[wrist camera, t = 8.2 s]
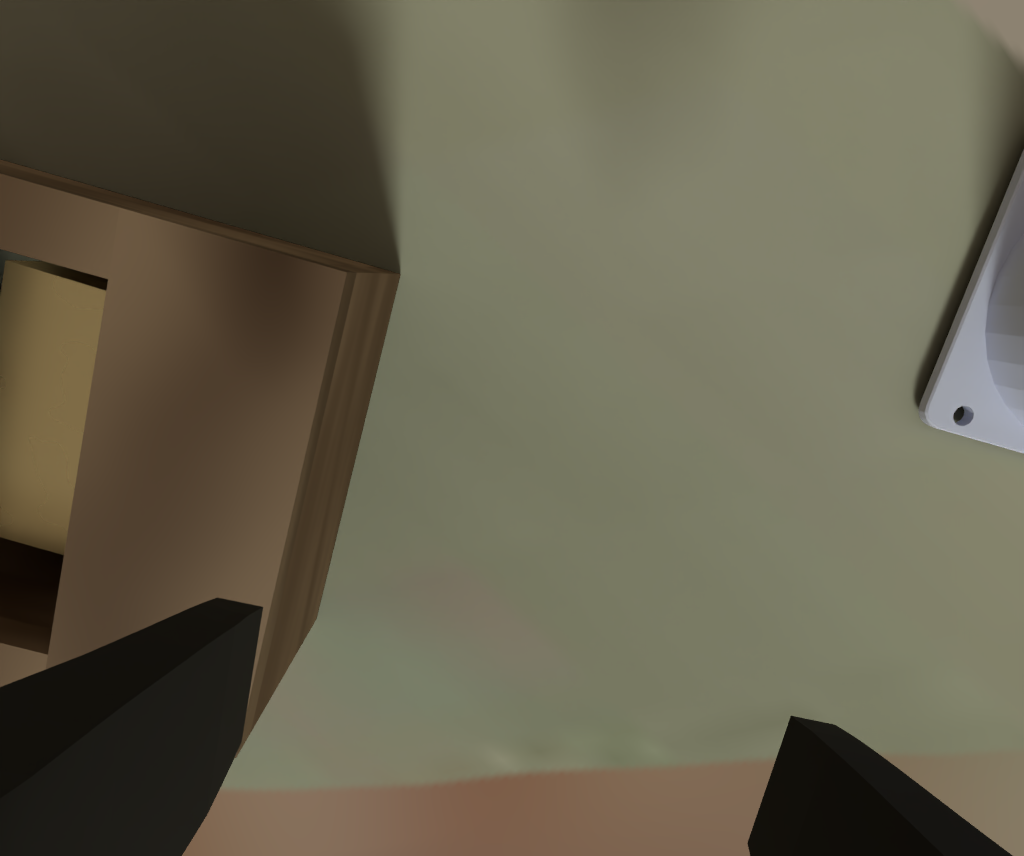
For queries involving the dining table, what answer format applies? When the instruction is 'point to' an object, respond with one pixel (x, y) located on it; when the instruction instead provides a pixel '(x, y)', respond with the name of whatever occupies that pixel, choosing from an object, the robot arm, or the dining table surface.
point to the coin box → (194, 426)
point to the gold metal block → (44, 394)
